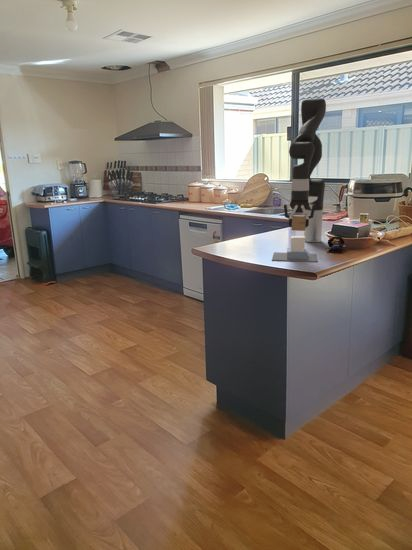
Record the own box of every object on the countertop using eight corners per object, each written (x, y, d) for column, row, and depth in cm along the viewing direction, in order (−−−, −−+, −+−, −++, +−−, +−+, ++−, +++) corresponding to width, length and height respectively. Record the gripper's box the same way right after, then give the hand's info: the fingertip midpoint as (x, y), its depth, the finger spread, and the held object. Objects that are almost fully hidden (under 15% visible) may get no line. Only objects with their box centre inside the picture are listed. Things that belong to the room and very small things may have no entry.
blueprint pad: (273, 253, 207) (274, 246, 206) (316, 254, 203) (317, 247, 202) (271, 260, 192) (272, 253, 191) (318, 262, 188) (318, 254, 187)
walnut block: (291, 228, 198) (292, 215, 196) (305, 228, 196) (305, 215, 195) (291, 230, 192) (292, 216, 190) (305, 230, 191) (305, 217, 189)
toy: (325, 250, 206) (325, 236, 218) (329, 261, 208) (329, 247, 221) (344, 245, 202) (344, 231, 214) (348, 256, 205) (347, 242, 217)
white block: (290, 248, 200) (291, 235, 199) (304, 249, 199) (304, 236, 197) (290, 251, 194) (291, 238, 193) (304, 251, 193) (305, 238, 192)
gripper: (316, 188, 192) (314, 226, 196) (283, 188, 195) (282, 225, 199) (317, 190, 185) (315, 229, 189) (283, 190, 188) (281, 228, 192)
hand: (298, 227), depth 194 cm, fingers closed on walnut block, 6 cm apart
